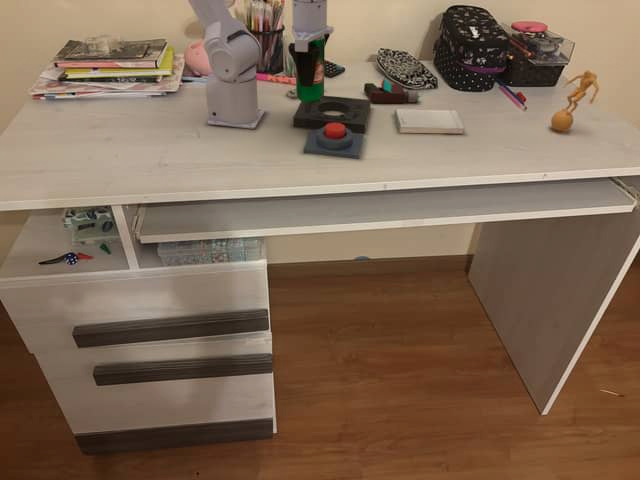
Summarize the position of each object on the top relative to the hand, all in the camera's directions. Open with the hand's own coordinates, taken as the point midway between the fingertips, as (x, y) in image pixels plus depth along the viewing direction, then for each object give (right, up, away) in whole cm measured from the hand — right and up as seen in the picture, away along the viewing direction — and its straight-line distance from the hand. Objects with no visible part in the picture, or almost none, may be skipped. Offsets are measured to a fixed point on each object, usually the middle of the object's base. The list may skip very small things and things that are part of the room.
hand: (309, 80), depth 92 cm
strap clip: (-2, +4, +22) cm, 22 cm away
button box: (+5, -11, +3) cm, 12 cm away
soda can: (0, -3, +2) cm, 4 cm away
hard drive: (+23, -6, +11) cm, 26 cm away
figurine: (+51, -7, +11) cm, 52 cm away
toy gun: (+18, +3, +22) cm, 28 cm away
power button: (+5, -10, +1) cm, 11 cm away
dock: (+5, -4, +12) cm, 14 cm away
